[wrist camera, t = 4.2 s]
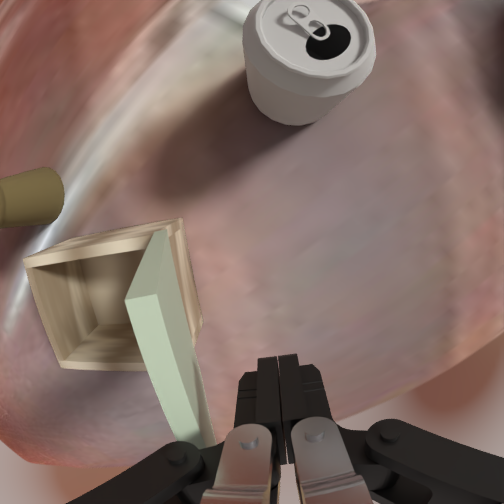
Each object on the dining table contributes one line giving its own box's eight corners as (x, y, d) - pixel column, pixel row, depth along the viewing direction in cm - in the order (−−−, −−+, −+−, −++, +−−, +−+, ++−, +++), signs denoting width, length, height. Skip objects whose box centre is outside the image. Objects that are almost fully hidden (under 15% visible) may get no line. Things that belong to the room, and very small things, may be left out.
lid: (216, 514, 9) (234, 511, 9) (124, 300, 7) (156, 294, 7) (189, 373, 20) (200, 371, 21) (154, 231, 18) (166, 229, 18)
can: (291, 145, 24) (319, 119, 13) (230, 85, 23) (208, 20, 12) (351, 92, 23) (412, 42, 11) (291, 35, 22) (311, -44, 10)
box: (98, 328, 29) (61, 368, 21) (72, 238, 27) (22, 258, 19) (203, 321, 28) (185, 370, 21) (182, 217, 26) (151, 234, 18)
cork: (56, 157, 25) (-22, 158, 14) (71, 213, 26) (-6, 235, 15) (20, 180, 25) (-54, 190, 15) (33, 231, 27) (-39, 257, 16)
